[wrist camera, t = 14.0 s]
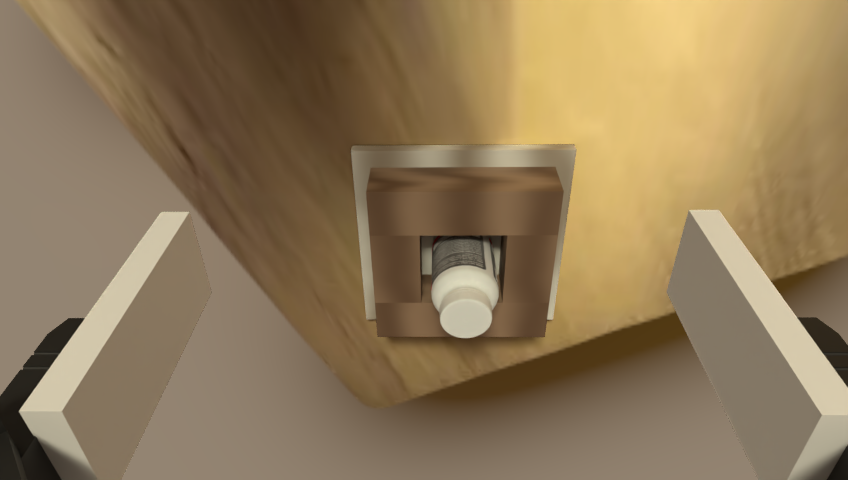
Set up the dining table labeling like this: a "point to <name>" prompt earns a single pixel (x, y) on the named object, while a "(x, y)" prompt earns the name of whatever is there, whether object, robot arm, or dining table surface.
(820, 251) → the dining table surface
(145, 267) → the robot arm
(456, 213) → the socket block
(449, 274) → the pill bottle
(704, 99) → the dining table surface
